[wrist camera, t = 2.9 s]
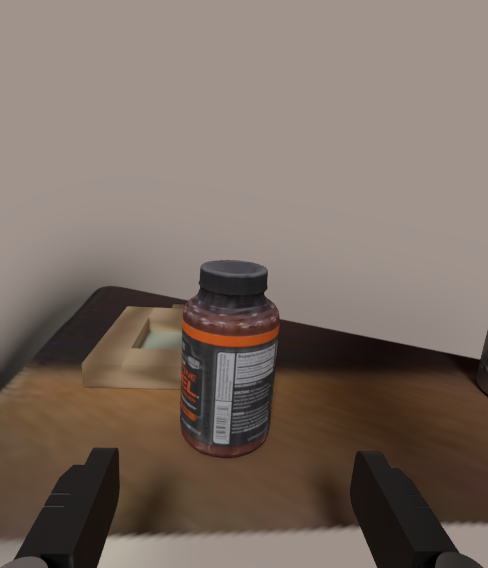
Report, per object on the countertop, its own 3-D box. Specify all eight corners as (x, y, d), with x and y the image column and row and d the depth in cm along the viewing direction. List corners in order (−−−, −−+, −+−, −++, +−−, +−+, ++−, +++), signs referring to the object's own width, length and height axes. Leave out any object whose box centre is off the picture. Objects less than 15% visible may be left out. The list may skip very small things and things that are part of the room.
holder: (247, 323, 44) (248, 307, 44) (260, 391, 29) (262, 368, 29) (130, 318, 43) (130, 302, 43) (83, 386, 28) (81, 363, 28)
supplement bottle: (170, 414, 26) (172, 256, 23) (246, 399, 28) (257, 255, 25) (194, 474, 20) (201, 279, 18) (285, 449, 23) (304, 275, 20)
